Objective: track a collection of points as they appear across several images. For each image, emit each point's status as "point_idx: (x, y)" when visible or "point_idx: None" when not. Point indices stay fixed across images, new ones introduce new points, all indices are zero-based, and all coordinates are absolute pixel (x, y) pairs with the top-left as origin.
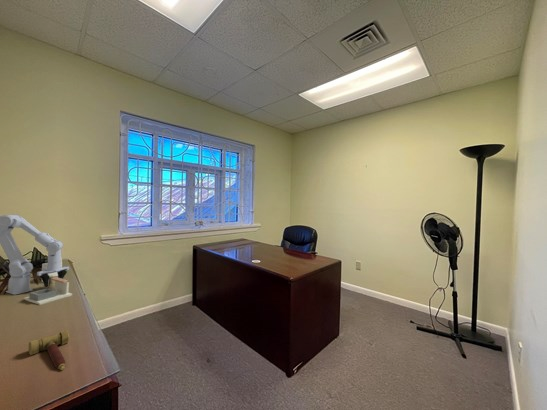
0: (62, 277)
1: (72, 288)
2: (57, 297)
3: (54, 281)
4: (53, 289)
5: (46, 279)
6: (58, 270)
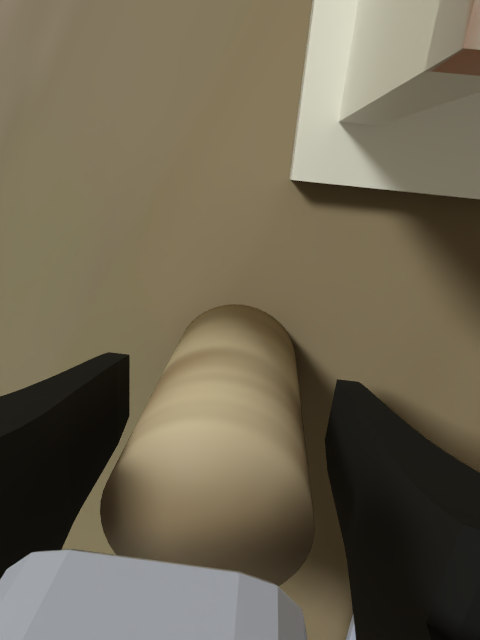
0: (34, 397)
1: (66, 60)
2: None
3: (242, 380)
4: (260, 311)
5: (459, 475)
6: (86, 619)
